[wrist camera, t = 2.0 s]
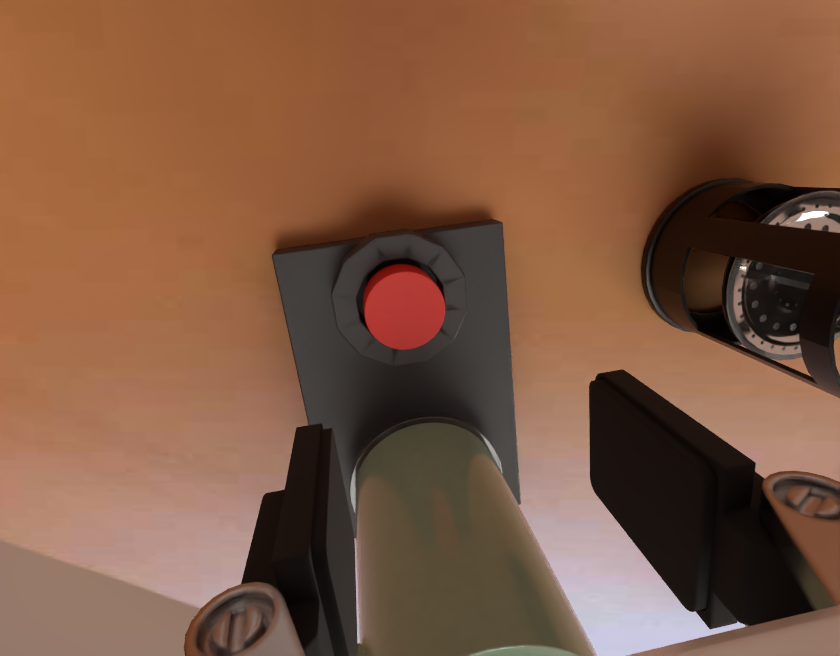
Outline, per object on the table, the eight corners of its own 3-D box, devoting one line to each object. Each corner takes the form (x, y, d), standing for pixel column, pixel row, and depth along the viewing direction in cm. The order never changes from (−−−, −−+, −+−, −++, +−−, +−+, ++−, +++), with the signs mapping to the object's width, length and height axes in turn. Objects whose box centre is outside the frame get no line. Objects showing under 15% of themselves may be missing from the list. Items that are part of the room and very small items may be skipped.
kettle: (302, 433, 26) (242, 806, 11) (493, 399, 27) (688, 693, 12) (338, 592, 29) (331, 1045, 14) (506, 556, 30) (668, 941, 15)
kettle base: (274, 243, 26) (264, 253, 23) (493, 212, 27) (513, 217, 24) (334, 524, 32) (333, 564, 28) (512, 488, 33) (531, 523, 30)
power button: (357, 269, 24) (358, 277, 22) (433, 258, 24) (441, 265, 22) (368, 341, 25) (371, 356, 23) (441, 330, 25) (449, 342, 24)
